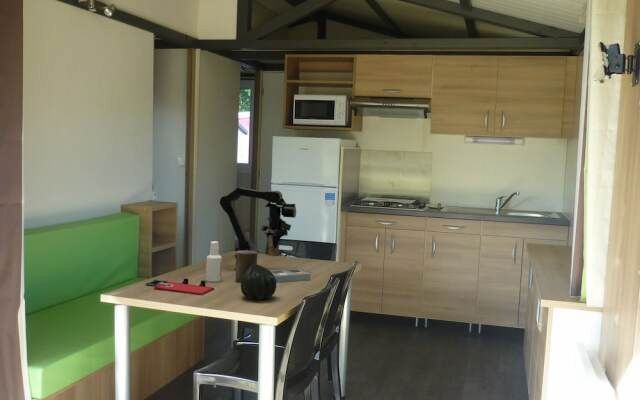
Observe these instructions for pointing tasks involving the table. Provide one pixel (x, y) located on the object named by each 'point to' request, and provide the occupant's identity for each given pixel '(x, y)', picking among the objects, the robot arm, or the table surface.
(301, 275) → the socket block
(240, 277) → the pillar candle
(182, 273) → the table surface
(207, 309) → the table surface
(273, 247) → the peg
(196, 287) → the red board with handle
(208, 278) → the spray bottle
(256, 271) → the squash
